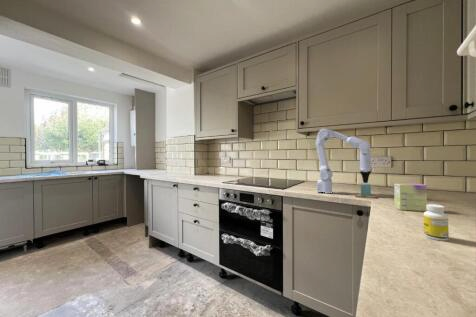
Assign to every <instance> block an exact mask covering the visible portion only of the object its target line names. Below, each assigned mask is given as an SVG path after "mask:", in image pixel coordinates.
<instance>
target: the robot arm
mask: <svg viewBox="0 0 476 317" xmlns="http://www.w3.org/2000/svg"><path fill="white" fill-rule="evenodd" d="M330 138H337V139H340V140H342V141H344V142H346V144H347V145H349V146H350V147H353V148H356V149H359V170H362V171H359V173H360V175H361V177H362V182H363V184H369V177H370V175H371V172H372V171H371V170H374V168H373V167H371V166H372V164H371V144H370V142H368V141H365V139H361V138H357V136H356V135H355V136H347V135H346V134H345V135H344V133H343V134H342V133H340V132H338V131H335V130H332V129H327V128H321V129H320V130H319V131H318V132H317V135H316V139H315V146H316V152H317V156H318V160H319V161H318V162H319V167H320V168H319V177H320V179H317V182H316V190H317V191H316V193H317V192H326V193H325V194H327V193H331V192H332V191H333V179H332V178H333V175H334V174H333V171H331V167H330V166H329V163H328V162H329V161H328V158H327V153H326V149H325V142H327V141H328V140H329V139H330ZM319 190H320V191H319Z"/></svg>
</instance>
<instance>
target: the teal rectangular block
mask: <svg viewBox="0 0 476 317" xmlns="http://www.w3.org/2000/svg"><path fill="white" fill-rule="evenodd" d="M371 189H372V184H370V183H360V193H361V195H363V196H371V194H372V193H371V192H372V190H371Z"/></svg>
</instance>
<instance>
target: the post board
mask: <svg viewBox="0 0 476 317" xmlns="http://www.w3.org/2000/svg"><path fill="white" fill-rule="evenodd" d="M354 196H355V198H363V199H375V200H376V199H378V197H377V194H376V193H371V196H363V195H361V192H360V193H359V192H355V195H354Z"/></svg>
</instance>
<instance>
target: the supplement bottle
mask: <svg viewBox="0 0 476 317" xmlns="http://www.w3.org/2000/svg"><path fill="white" fill-rule="evenodd" d="M426 209H427V211H423V235H424V236H425V237H426V238H428V239H430V238H431V240H435V241H444V242H445V241H449V237H450V235H449V216H448V214H447V213H445V209H446V208H445V206H444V205H441V204H435V203H429V204H428V203H427V205H426Z"/></svg>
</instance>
